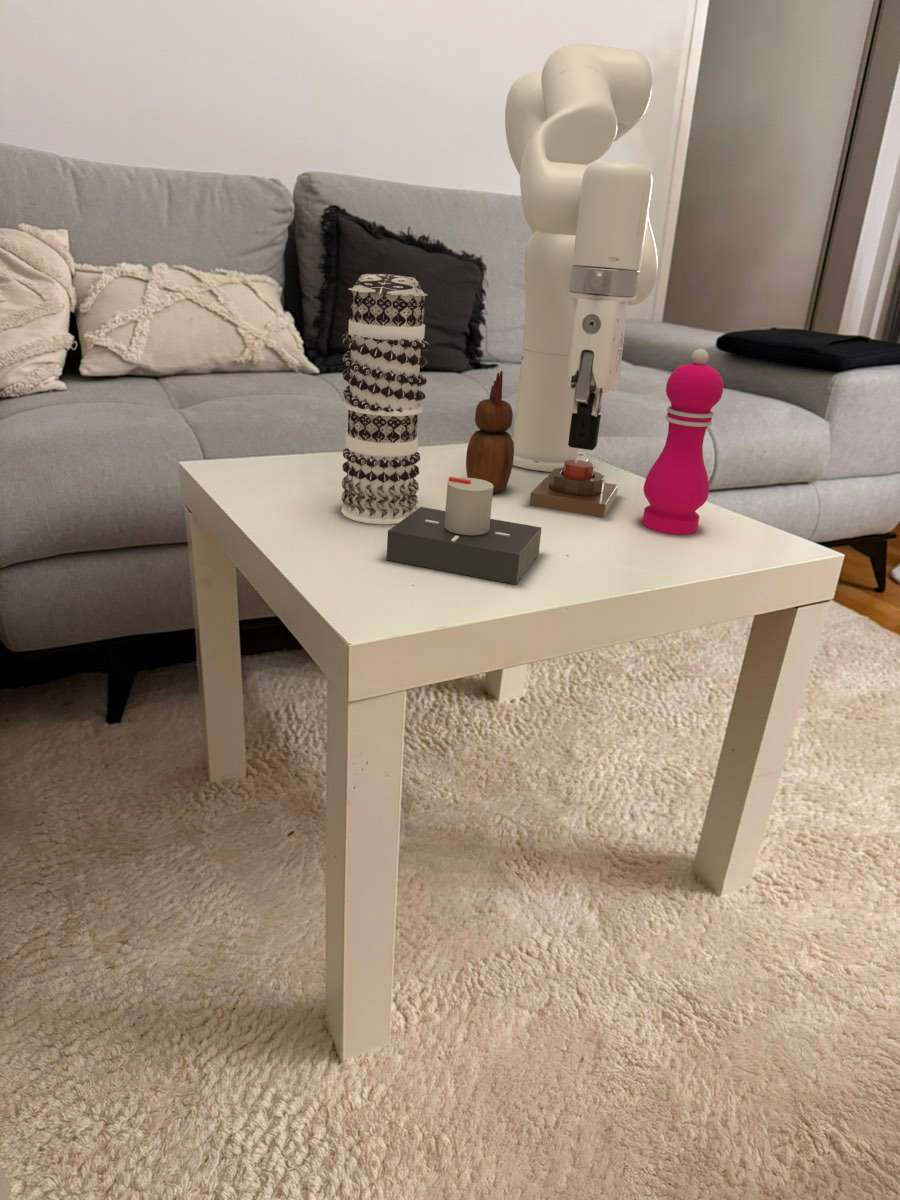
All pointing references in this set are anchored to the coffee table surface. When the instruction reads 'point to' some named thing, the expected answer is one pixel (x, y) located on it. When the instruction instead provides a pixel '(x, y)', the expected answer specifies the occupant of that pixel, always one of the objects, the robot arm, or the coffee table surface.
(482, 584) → the coffee table surface
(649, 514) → the pepper mill
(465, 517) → the knob
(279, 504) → the coffee table surface
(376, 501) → the decorative candle
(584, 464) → the button
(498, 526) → the panel
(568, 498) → the button block
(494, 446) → the wooden figurine
